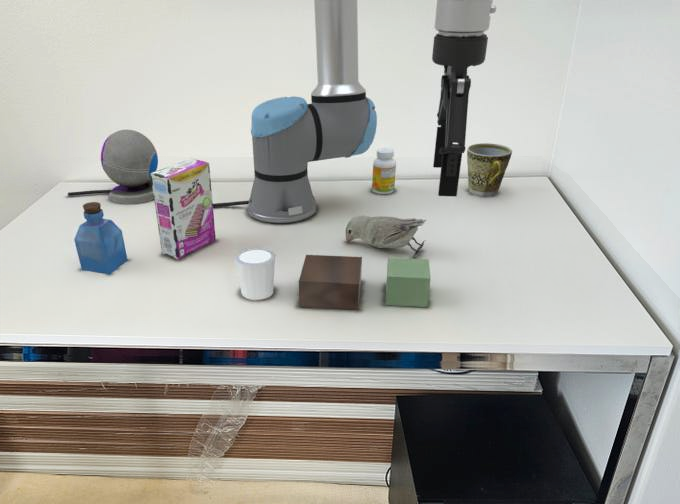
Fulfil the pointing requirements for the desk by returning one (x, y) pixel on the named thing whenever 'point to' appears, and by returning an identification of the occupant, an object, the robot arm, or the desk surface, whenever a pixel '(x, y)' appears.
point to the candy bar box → (184, 207)
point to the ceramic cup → (486, 167)
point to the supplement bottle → (384, 171)
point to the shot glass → (256, 273)
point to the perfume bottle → (99, 242)
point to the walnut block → (330, 282)
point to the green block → (407, 282)
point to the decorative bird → (384, 231)
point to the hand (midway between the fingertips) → (444, 180)
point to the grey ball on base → (129, 166)
